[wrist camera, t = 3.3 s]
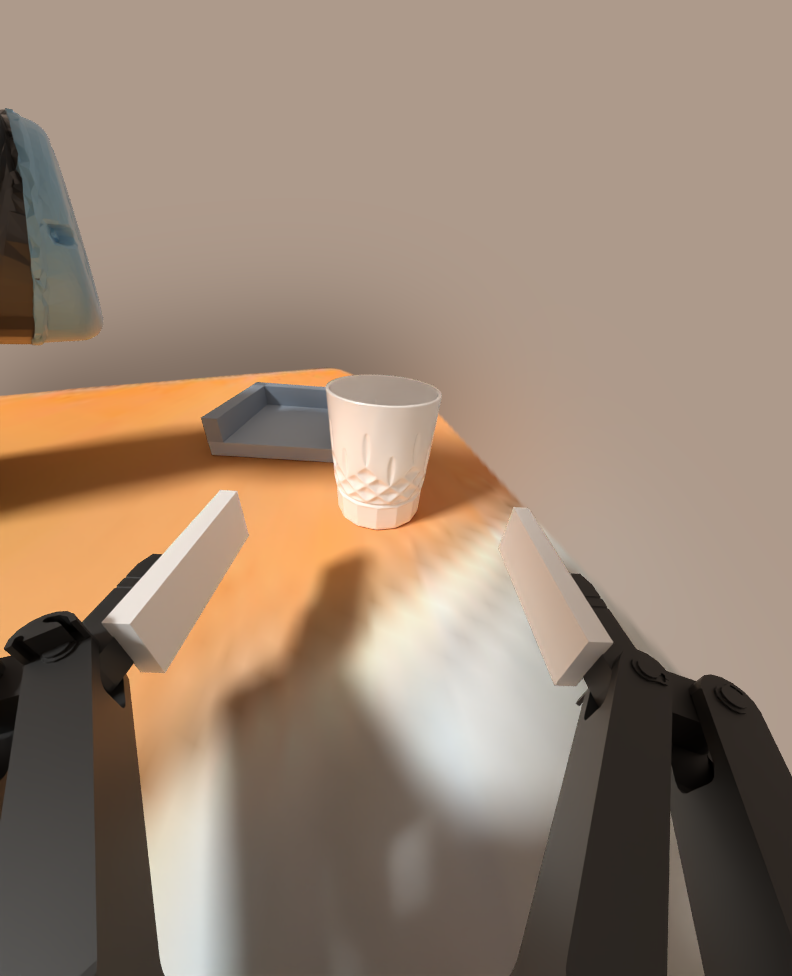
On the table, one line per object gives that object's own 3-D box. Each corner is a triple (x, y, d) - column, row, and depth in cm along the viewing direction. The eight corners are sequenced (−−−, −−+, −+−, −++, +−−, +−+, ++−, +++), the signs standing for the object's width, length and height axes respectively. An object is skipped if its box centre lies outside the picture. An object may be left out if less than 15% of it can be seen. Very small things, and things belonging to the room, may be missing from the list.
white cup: (427, 539, 22) (449, 411, 17) (323, 532, 22) (312, 400, 17) (420, 483, 29) (435, 378, 24) (340, 478, 29) (336, 371, 23)
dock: (346, 463, 31) (345, 427, 29) (211, 454, 31) (200, 417, 29) (359, 417, 43) (359, 389, 41) (262, 410, 42) (257, 382, 40)
